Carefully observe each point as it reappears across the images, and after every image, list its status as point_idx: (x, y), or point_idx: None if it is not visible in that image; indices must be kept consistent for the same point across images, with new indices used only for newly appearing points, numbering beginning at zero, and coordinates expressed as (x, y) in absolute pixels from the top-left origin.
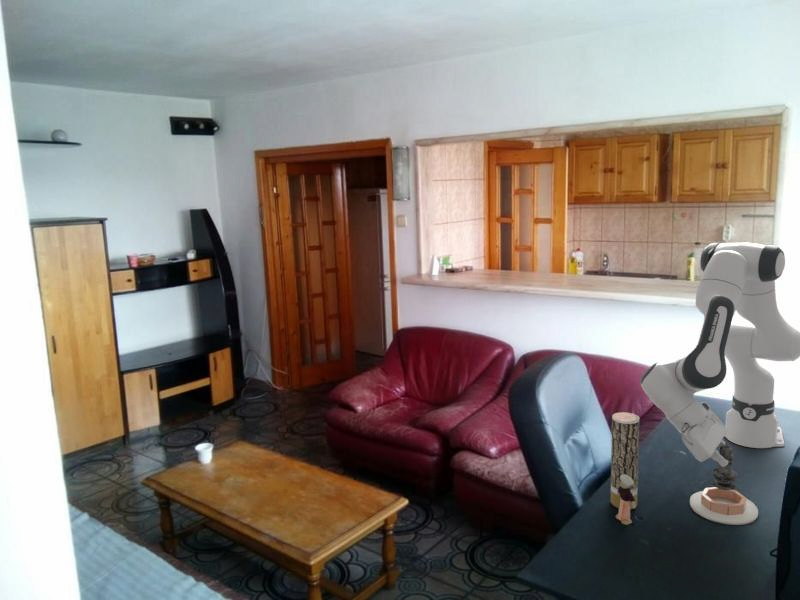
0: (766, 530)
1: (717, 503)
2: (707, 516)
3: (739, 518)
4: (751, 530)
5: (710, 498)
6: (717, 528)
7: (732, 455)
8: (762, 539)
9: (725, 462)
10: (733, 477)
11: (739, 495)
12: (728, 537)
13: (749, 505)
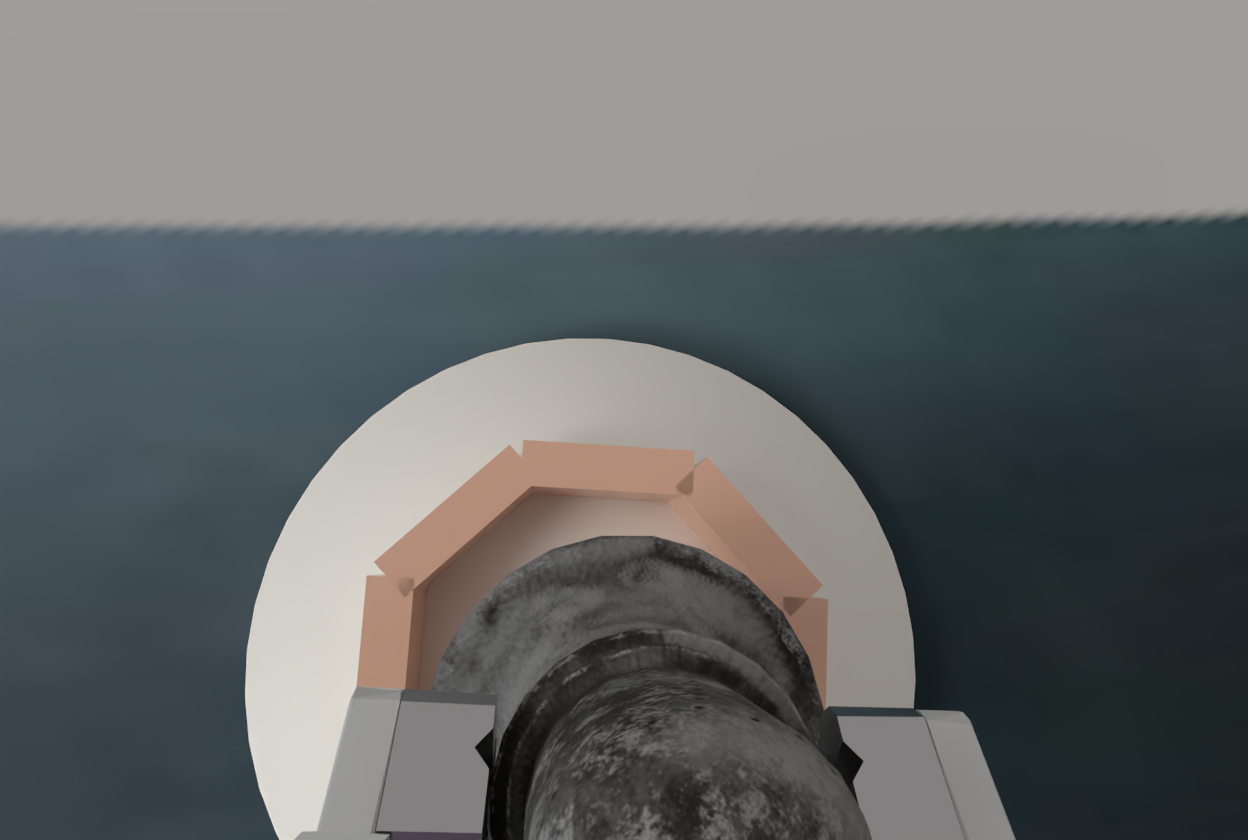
0: (809, 261)
1: None
2: None
3: (797, 481)
4: (879, 373)
5: None
6: (1008, 643)
7: (395, 688)
8: (981, 280)
9: (978, 765)
10: (748, 578)
11: (485, 519)
12: (1107, 532)
13: (468, 426)
